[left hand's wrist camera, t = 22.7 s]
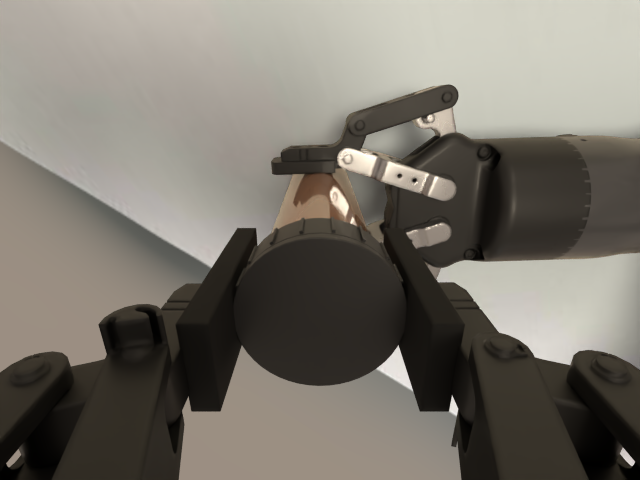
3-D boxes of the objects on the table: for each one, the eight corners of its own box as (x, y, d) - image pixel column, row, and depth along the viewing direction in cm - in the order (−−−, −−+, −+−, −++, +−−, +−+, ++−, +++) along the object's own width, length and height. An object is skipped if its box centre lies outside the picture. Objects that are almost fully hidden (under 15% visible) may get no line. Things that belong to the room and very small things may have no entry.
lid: (332, 374, 14) (333, 412, 12) (212, 299, 12) (196, 330, 11) (430, 278, 12) (447, 306, 10) (304, 181, 11) (302, 196, 9)
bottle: (316, 222, 29) (311, 376, 13) (279, 180, 27) (222, 293, 11) (360, 188, 27) (416, 309, 12) (324, 142, 26) (330, 207, 10)
